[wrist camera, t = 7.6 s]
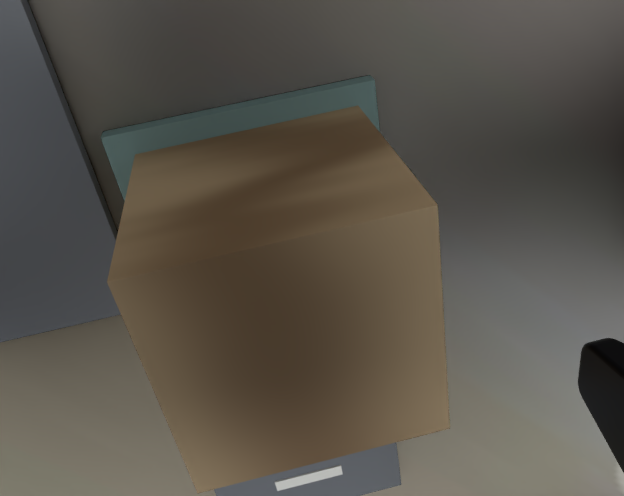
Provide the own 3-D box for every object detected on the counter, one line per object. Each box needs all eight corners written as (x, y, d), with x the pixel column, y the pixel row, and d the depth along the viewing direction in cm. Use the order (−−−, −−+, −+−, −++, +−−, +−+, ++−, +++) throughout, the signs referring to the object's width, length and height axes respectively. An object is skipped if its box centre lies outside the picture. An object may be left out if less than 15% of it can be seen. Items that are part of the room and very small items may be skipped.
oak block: (358, 105, 13) (437, 204, 9) (380, 285, 16) (449, 428, 11) (135, 154, 13) (106, 282, 9) (196, 329, 15) (198, 493, 11)
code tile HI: (381, 346, 17) (386, 356, 17) (397, 475, 21) (401, 486, 20) (181, 395, 17) (180, 407, 17) (229, 518, 20) (229, 530, 20)
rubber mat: (370, 75, 13) (374, 79, 13) (392, 289, 16) (396, 296, 16) (102, 131, 13) (100, 137, 12) (179, 339, 16) (178, 348, 16)
